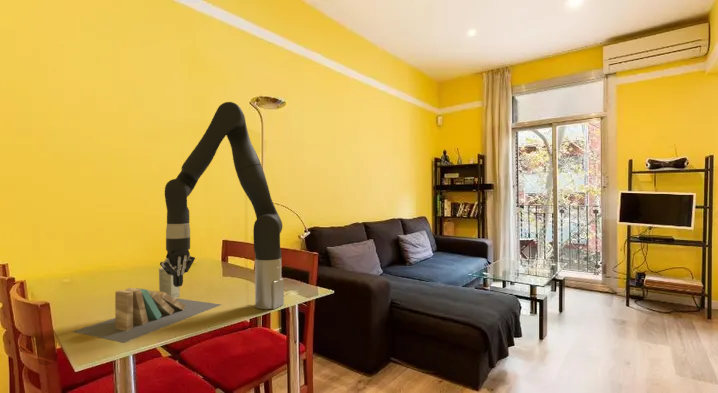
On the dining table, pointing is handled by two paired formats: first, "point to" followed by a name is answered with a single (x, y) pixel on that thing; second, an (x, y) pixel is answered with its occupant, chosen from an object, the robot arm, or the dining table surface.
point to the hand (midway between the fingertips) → (178, 286)
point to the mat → (110, 333)
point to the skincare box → (167, 284)
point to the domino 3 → (150, 305)
